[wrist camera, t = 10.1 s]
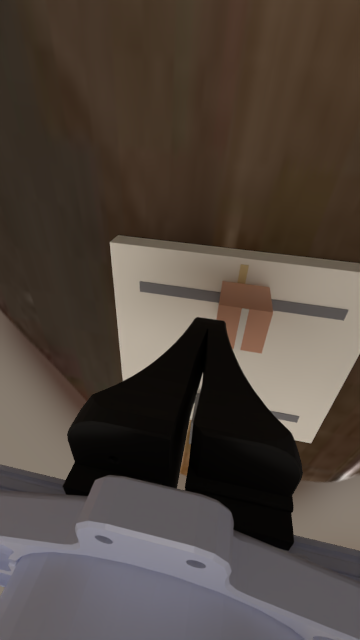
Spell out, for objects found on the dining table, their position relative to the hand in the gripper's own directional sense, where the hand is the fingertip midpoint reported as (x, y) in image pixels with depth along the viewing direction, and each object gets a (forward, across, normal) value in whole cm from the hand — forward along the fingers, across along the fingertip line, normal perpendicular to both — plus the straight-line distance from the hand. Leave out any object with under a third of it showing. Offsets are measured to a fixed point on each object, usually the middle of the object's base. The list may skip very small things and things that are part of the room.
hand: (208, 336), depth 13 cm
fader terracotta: (+7, -2, +2) cm, 7 cm away
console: (+8, -1, +7) cm, 11 cm away
